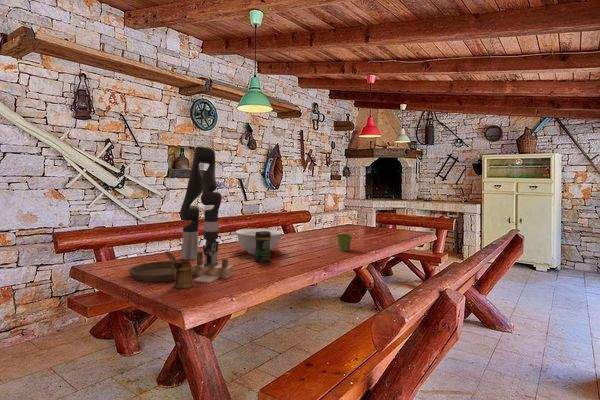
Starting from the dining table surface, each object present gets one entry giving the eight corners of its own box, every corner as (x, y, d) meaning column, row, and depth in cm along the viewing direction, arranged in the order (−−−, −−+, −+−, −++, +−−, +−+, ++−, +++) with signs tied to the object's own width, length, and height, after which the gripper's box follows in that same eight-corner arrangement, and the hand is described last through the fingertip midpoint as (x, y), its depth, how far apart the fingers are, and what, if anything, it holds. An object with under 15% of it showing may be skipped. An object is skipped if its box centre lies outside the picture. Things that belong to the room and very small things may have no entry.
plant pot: (341, 248, 279) (341, 233, 279) (355, 250, 272) (355, 235, 272) (332, 250, 270) (333, 235, 269) (347, 253, 263) (347, 237, 262)
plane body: (191, 275, 196) (192, 252, 195) (198, 272, 203) (198, 250, 202) (227, 278, 191) (227, 255, 191) (232, 274, 198) (233, 252, 197)
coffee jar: (258, 263, 227) (259, 232, 226) (252, 260, 233) (253, 230, 232) (272, 261, 232) (273, 231, 231) (266, 258, 239) (266, 229, 238)
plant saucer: (118, 275, 194) (118, 266, 194) (173, 265, 217) (173, 257, 217) (146, 288, 173) (146, 278, 173) (203, 276, 196) (203, 267, 196)
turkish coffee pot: (160, 287, 173) (160, 249, 172) (187, 282, 183) (187, 245, 182) (170, 292, 167) (170, 252, 166) (197, 286, 177) (197, 248, 176)
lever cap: (204, 263, 195) (204, 253, 195) (208, 261, 199) (208, 252, 199) (213, 263, 194) (213, 254, 194) (216, 262, 198) (217, 252, 198)
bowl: (291, 251, 264) (291, 231, 263) (262, 259, 236) (263, 236, 235) (255, 246, 281) (255, 226, 280) (225, 253, 254) (225, 231, 253)
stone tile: (193, 281, 185) (193, 279, 185) (202, 276, 193) (202, 275, 193) (210, 282, 183) (210, 281, 183) (218, 278, 191) (218, 276, 191)
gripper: (210, 227, 204) (210, 258, 205) (197, 231, 190) (197, 264, 191) (223, 228, 202) (223, 259, 203) (211, 232, 188) (211, 265, 189)
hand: (210, 262), depth 197 cm, fingers closed on lever cap, 4 cm apart
